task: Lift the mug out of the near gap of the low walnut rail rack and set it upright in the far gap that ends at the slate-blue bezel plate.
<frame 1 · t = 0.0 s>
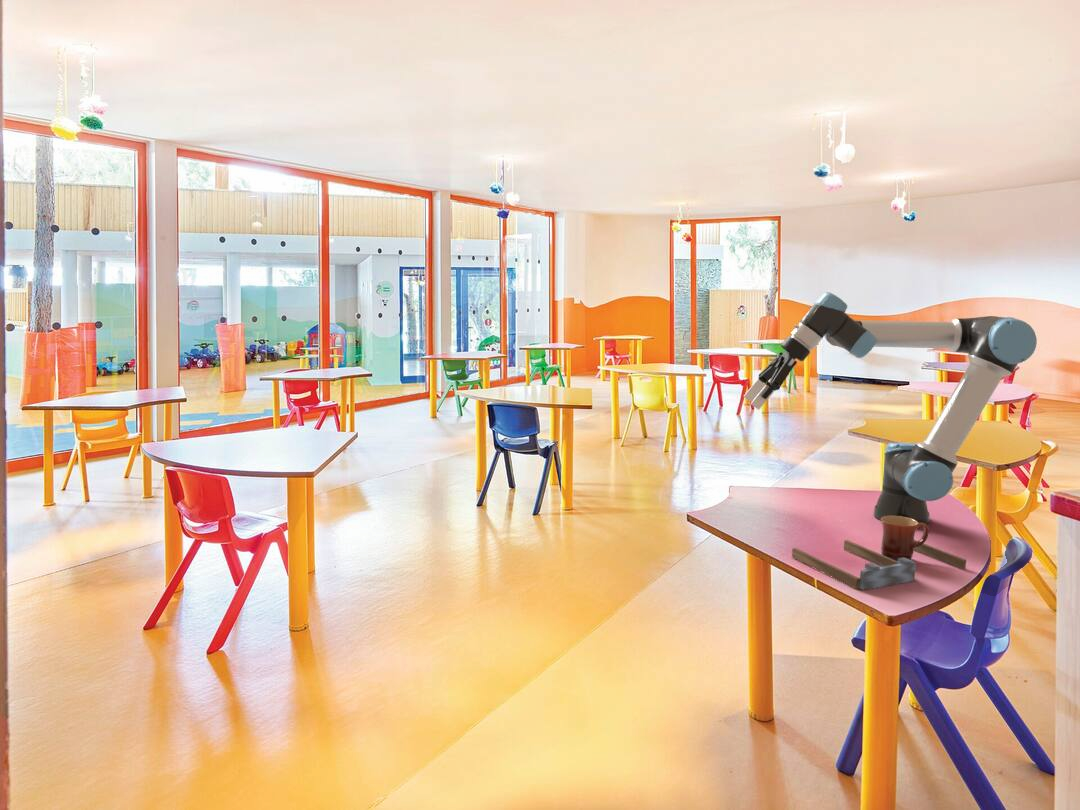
hand: (750, 403, 220), 36 cm above the table, tool tilted 35°, fingers open, 13 cm apart
rack: (877, 563, 197), on the table
mug: (902, 559, 200), on the table
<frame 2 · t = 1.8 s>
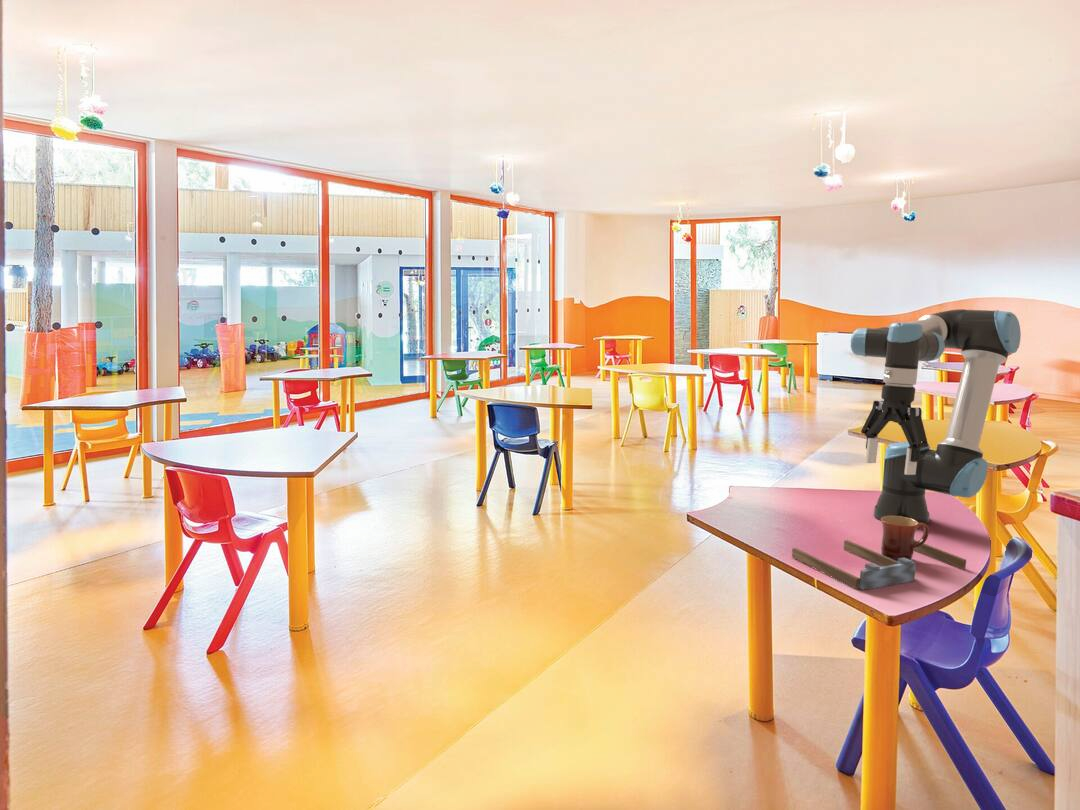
hand: (889, 468, 197), 24 cm above the table, tool pointing down, fingers open, 13 cm apart
nothing on the table moved.
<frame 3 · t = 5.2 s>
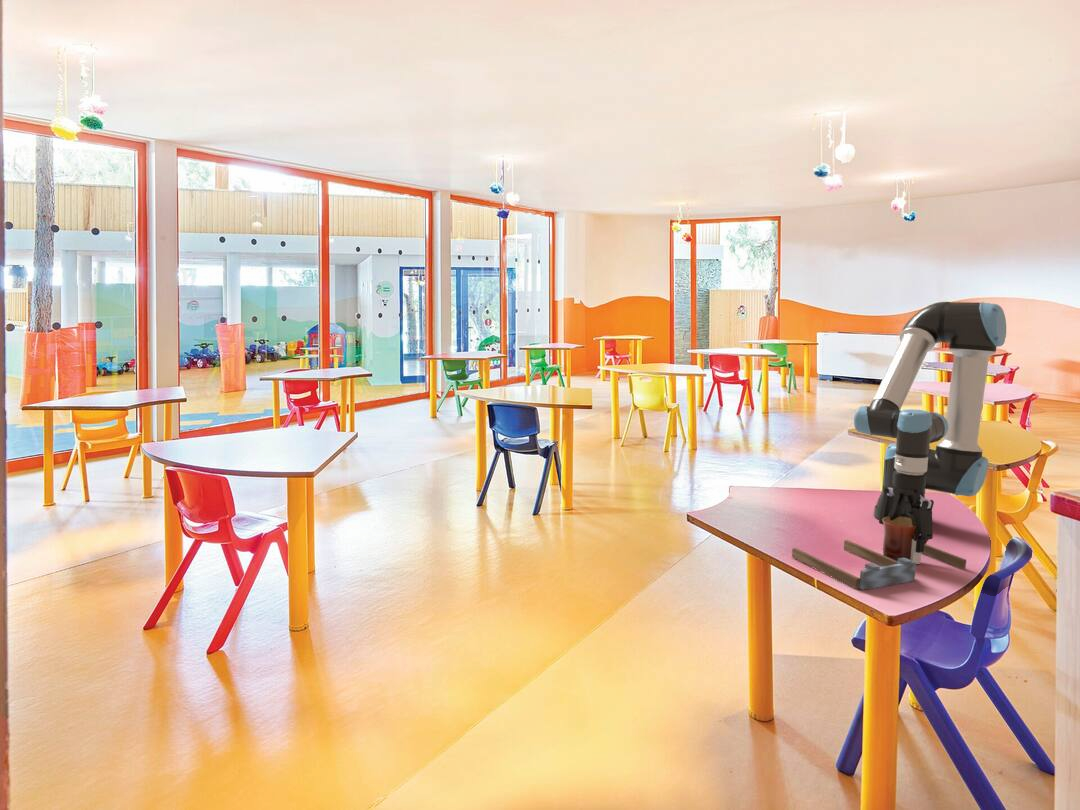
hand: (902, 558, 200), 0 cm above the table, tool pointing down, fingers closed on mug, 7 cm apart
mug: (903, 560, 200), on the table, touching gripper
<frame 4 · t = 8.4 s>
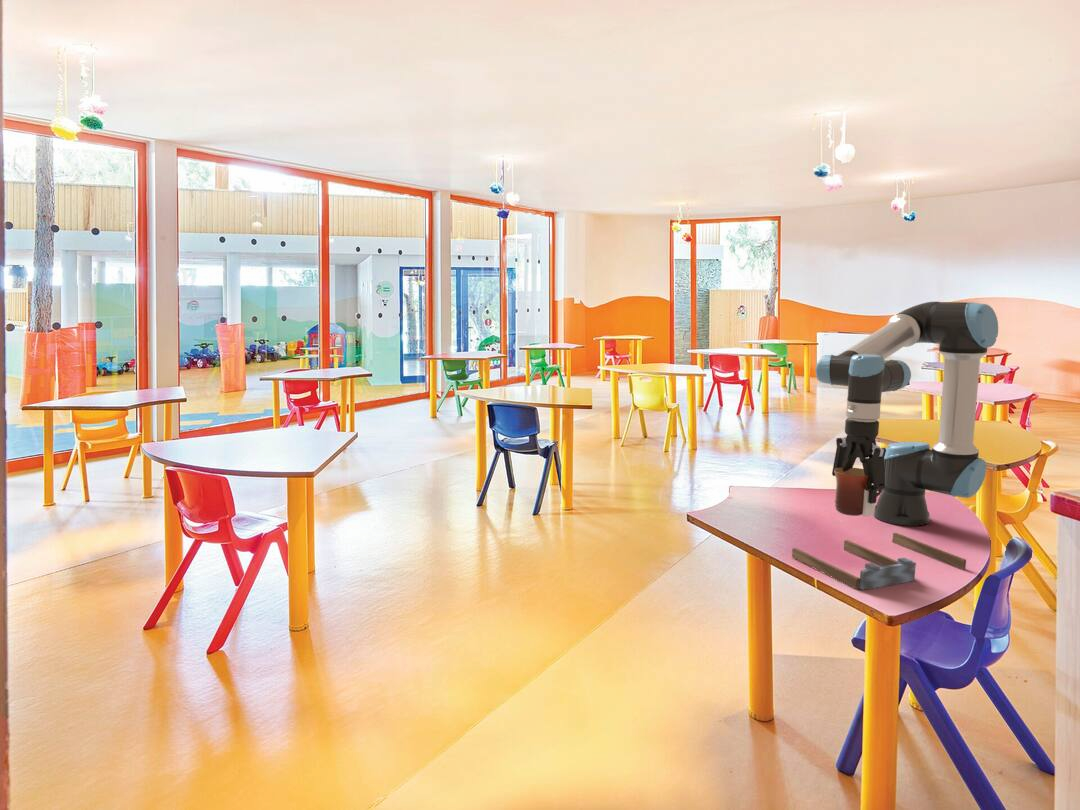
hand: (855, 510, 192), 15 cm above the table, tool pointing down, fingers closed on mug, 7 cm apart
mug: (856, 513, 191), point 14 cm above the table, touching gripper
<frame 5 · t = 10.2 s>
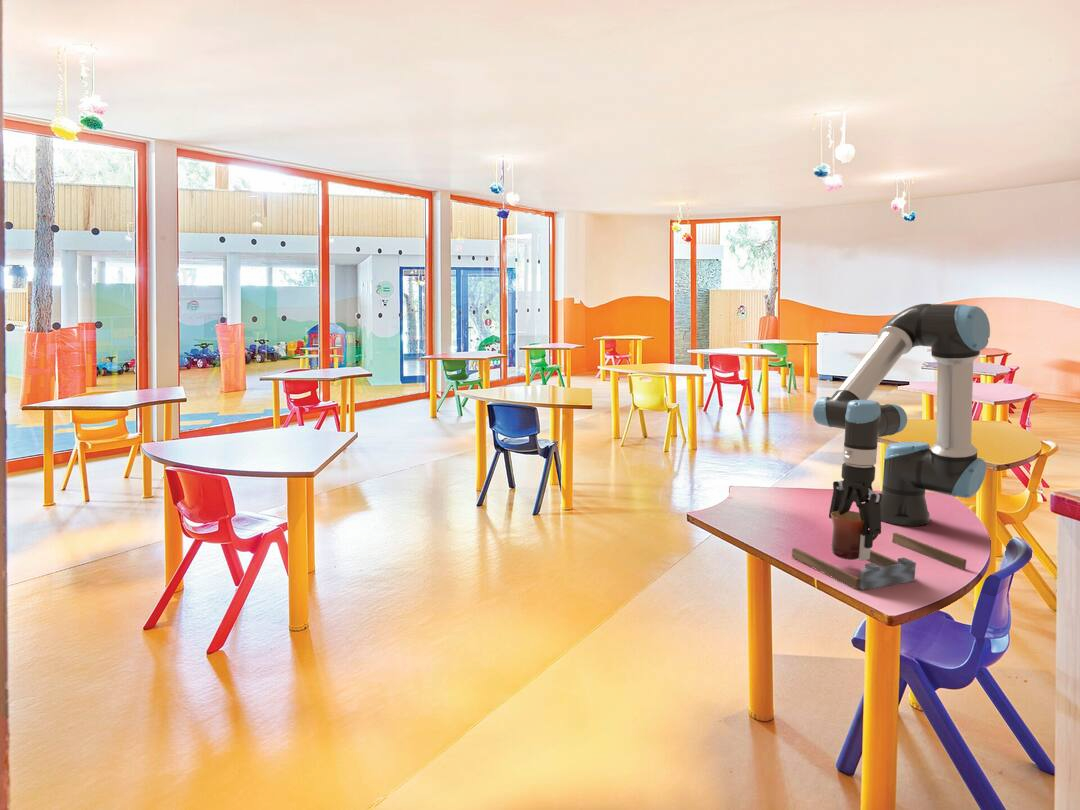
hand: (851, 554, 193), 4 cm above the table, tool pointing down, fingers closed on mug, 7 cm apart
mug: (853, 556, 193), point 3 cm above the table, touching gripper
when the fingers open (1 cm above the table, at t = 11.6 s): mug stays where it is, on the table.
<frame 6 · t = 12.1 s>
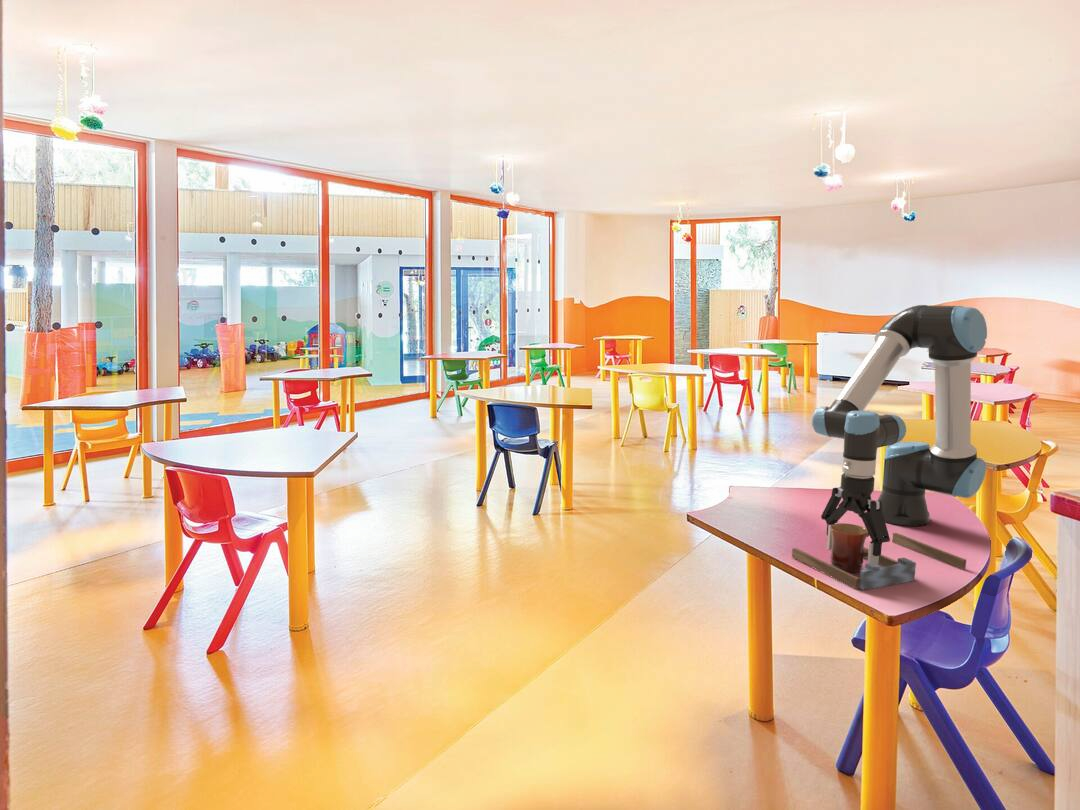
hand: (851, 558, 194), 2 cm above the table, tool pointing down, fingers open, 13 cm apart
mug: (852, 569, 194), on the table
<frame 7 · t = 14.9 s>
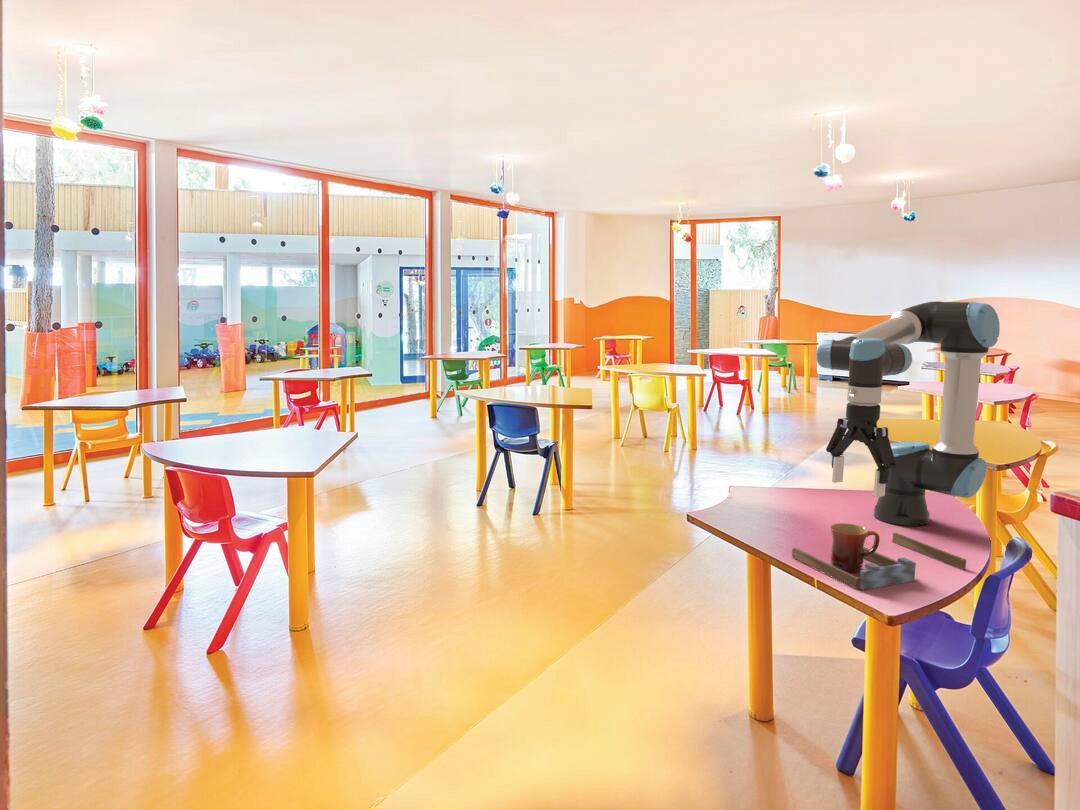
hand: (857, 489, 191), 20 cm above the table, tool pointing down, fingers open, 13 cm apart
nothing on the table moved.
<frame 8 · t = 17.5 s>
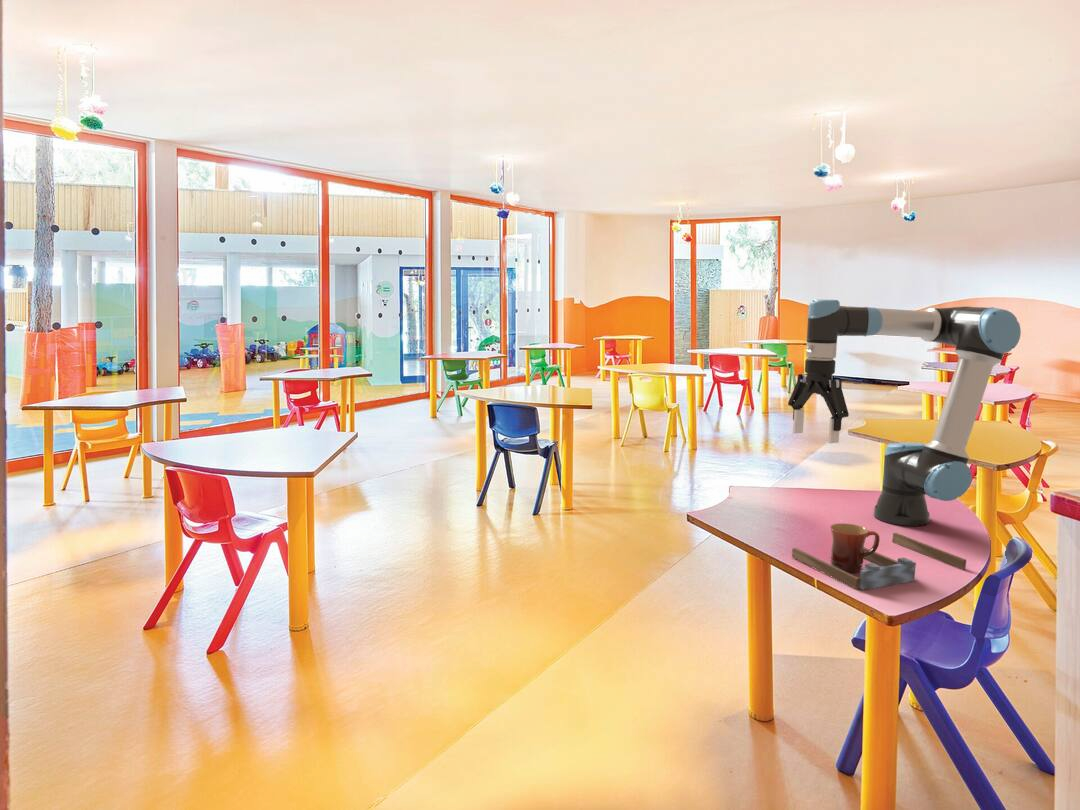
hand: (815, 437, 209), 29 cm above the table, tool pointing down, fingers open, 13 cm apart
nothing on the table moved.
at the end: mug inside the target area on the rack (0.5 cm from its centre), point 0.0 cm above the rack's base; mug tilted 0°; the gripper is holding nothing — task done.
